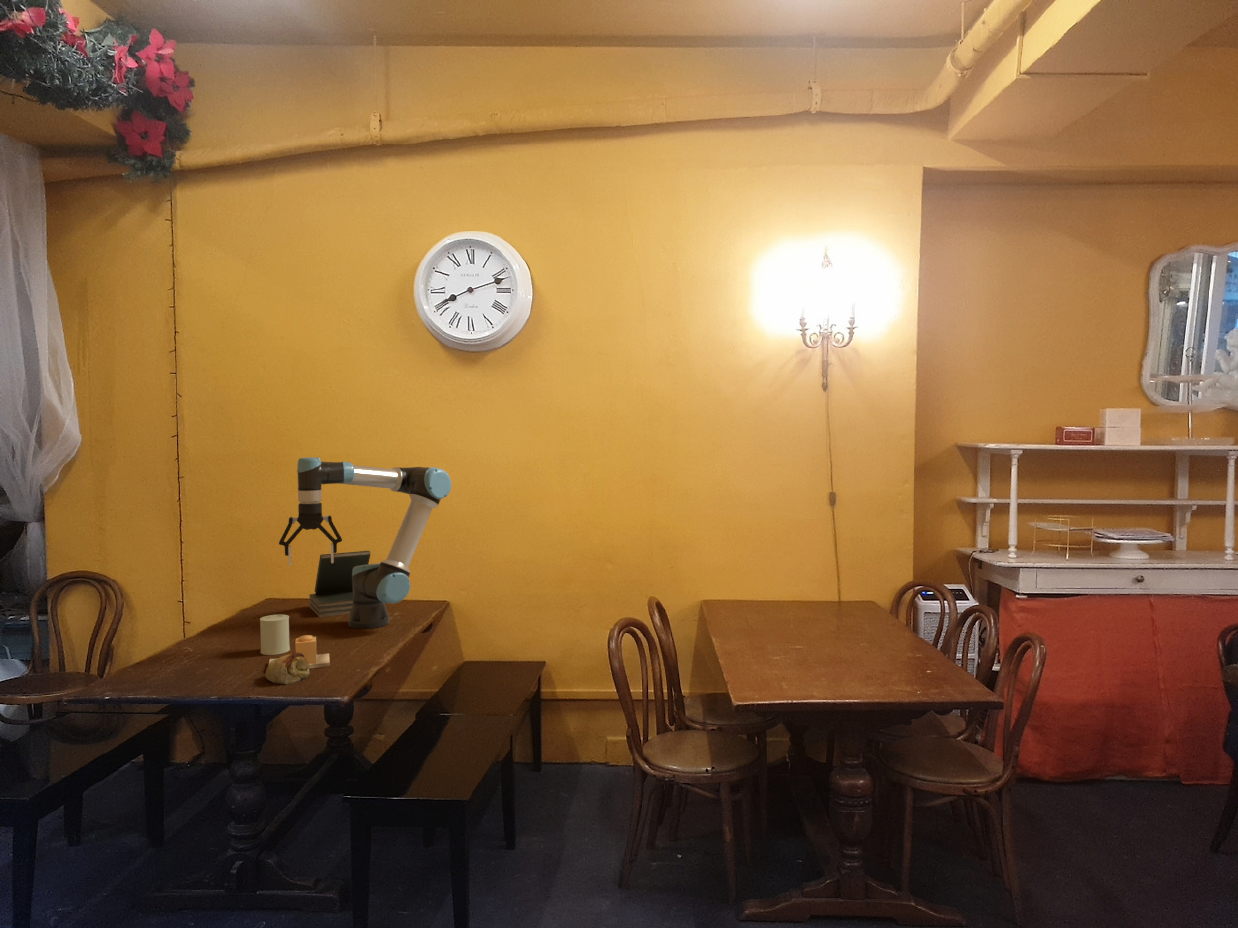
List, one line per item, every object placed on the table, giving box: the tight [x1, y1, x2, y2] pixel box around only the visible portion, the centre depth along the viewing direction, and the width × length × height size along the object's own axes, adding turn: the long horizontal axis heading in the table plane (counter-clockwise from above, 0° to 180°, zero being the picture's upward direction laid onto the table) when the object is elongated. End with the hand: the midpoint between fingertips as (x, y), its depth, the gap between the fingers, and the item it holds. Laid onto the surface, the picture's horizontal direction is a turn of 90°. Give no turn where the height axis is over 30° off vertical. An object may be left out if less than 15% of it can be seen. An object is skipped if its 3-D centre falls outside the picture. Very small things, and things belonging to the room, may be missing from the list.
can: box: [259, 614, 291, 656], centre depth 270 cm, size 9×9×12 cm
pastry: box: [264, 652, 310, 685], centre depth 242 cm, size 14×12×8 cm
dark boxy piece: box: [309, 550, 372, 618], centre depth 332 cm, size 23×20×25 cm
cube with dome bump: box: [294, 634, 317, 664], centre depth 254 cm, size 6×6×8 cm
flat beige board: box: [268, 652, 331, 669], centre depth 255 cm, size 18×11×6 cm, turn 111°
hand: (311, 563), depth 275 cm, fingers open, 13 cm apart
